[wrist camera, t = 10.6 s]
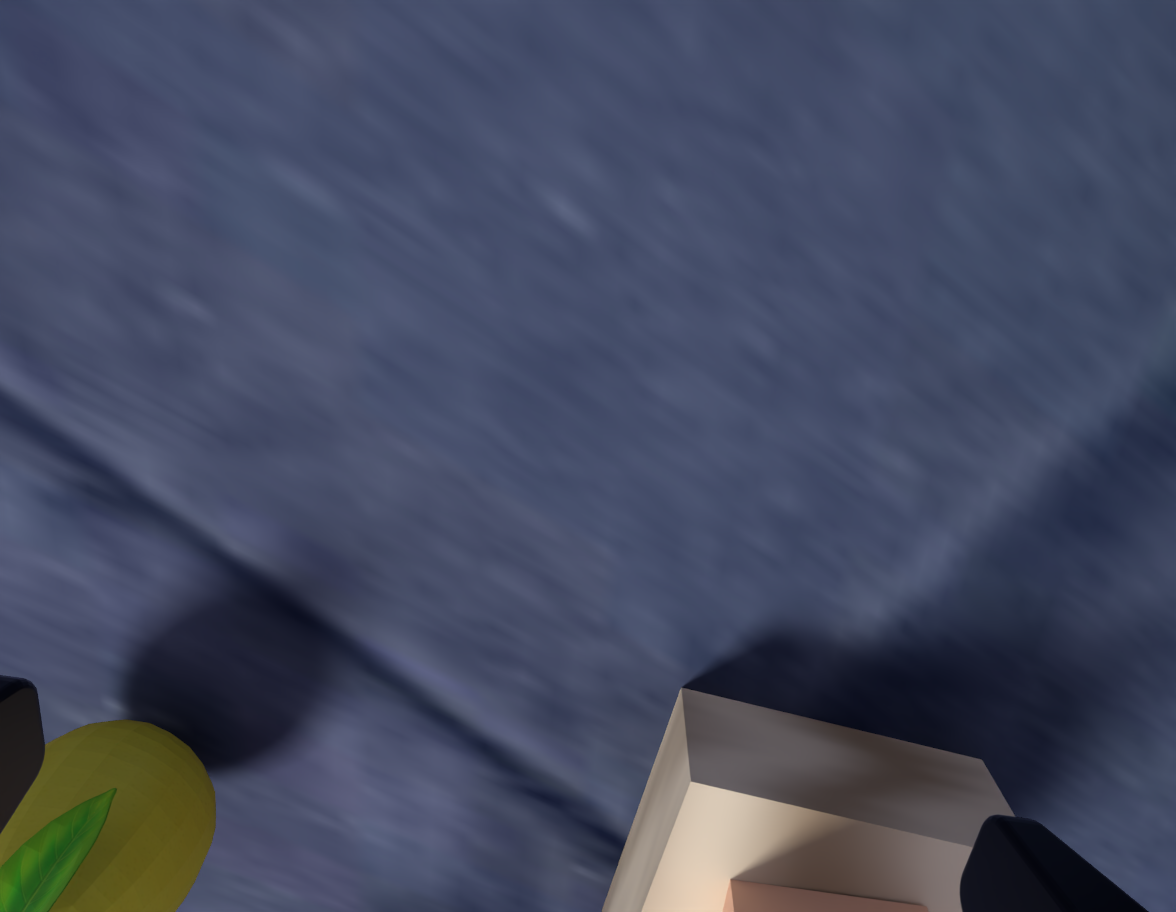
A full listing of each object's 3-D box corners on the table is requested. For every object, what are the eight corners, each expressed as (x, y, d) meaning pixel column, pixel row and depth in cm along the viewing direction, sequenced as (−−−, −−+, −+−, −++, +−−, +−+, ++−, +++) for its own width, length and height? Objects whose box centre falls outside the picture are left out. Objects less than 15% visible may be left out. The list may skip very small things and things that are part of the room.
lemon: (125, 843, 26) (-161, 1236, 16) (24, 700, 24) (-363, 1051, 15) (310, 796, 25) (117, 1188, 15) (219, 642, 23) (-64, 981, 14)
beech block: (976, 750, 23) (1042, 863, 20) (864, 958, 27) (902, 1090, 23) (680, 679, 23) (690, 781, 19) (602, 900, 26) (597, 1024, 22)
